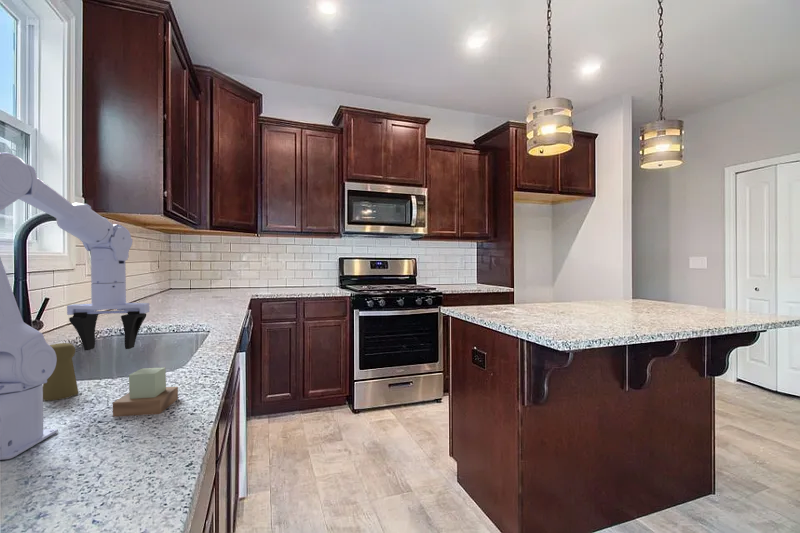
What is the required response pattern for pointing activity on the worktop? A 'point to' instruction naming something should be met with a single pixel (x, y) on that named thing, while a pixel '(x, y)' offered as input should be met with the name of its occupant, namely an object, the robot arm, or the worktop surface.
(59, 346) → the cork
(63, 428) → the worktop surface
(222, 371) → the worktop surface
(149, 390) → the sage cube
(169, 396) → the walnut block
